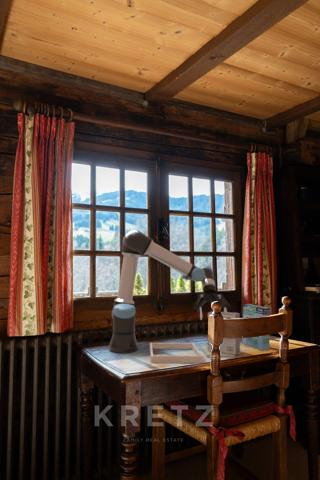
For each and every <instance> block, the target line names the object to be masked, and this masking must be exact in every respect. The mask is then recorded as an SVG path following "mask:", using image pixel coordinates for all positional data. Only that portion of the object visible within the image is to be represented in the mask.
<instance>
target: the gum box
mask: <svg viewBox="0 0 320 480" xmlns="http://www.w3.org/2000/svg"><path fill="white" fill-rule="evenodd" d="M270 314H271V308H270V307H265V306H260V305H256V304H251V303H245V304H244V303H242V319H243V318H249V317H261V316H270V317H271V315H270ZM270 340H271V339H270V335H265V336H259V337H253V338H244V339H243V338H242V344H243V345H247V346H249V347H252V348H254V349H256V350H259V349H260V350H259V351H261V350H269V351H270Z"/></svg>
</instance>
